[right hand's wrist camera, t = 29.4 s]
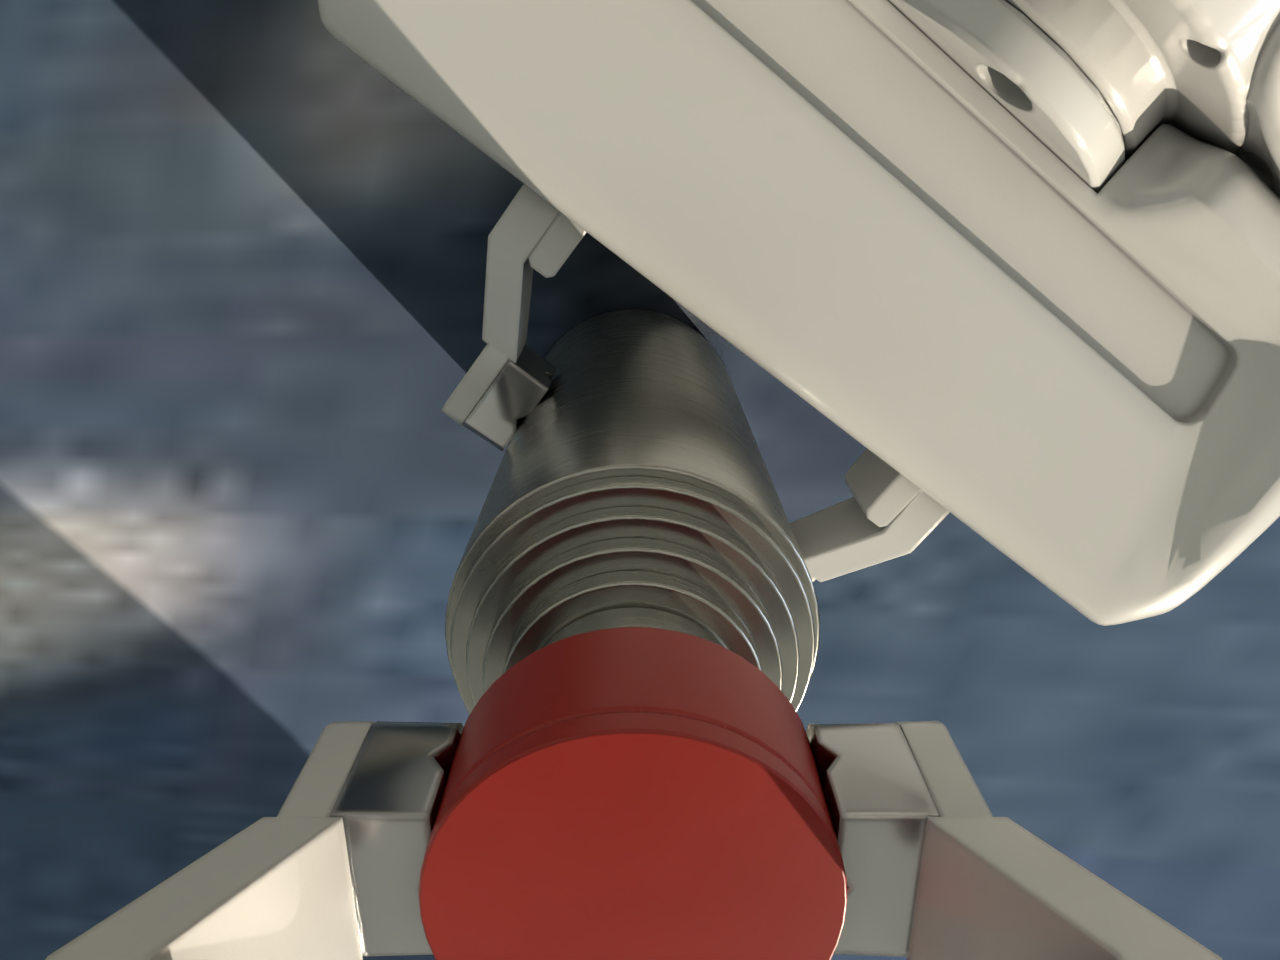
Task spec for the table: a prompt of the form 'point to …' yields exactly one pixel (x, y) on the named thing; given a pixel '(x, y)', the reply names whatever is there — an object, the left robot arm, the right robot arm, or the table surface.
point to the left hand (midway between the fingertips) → (609, 517)
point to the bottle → (633, 515)
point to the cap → (633, 813)
